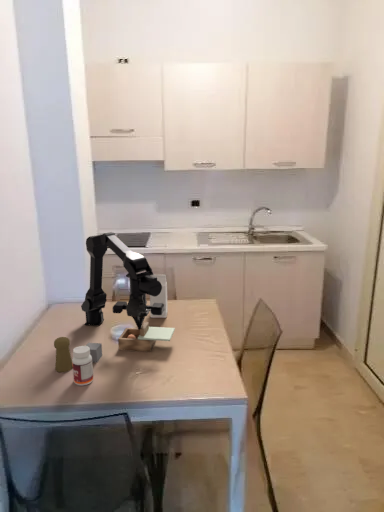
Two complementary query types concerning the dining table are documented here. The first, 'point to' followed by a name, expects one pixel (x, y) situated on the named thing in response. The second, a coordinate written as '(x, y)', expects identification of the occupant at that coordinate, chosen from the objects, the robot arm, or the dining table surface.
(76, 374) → the pill bottle
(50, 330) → the dining table surface
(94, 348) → the cube
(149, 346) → the box
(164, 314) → the milk carton
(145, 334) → the lid
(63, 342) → the pepper shaker
